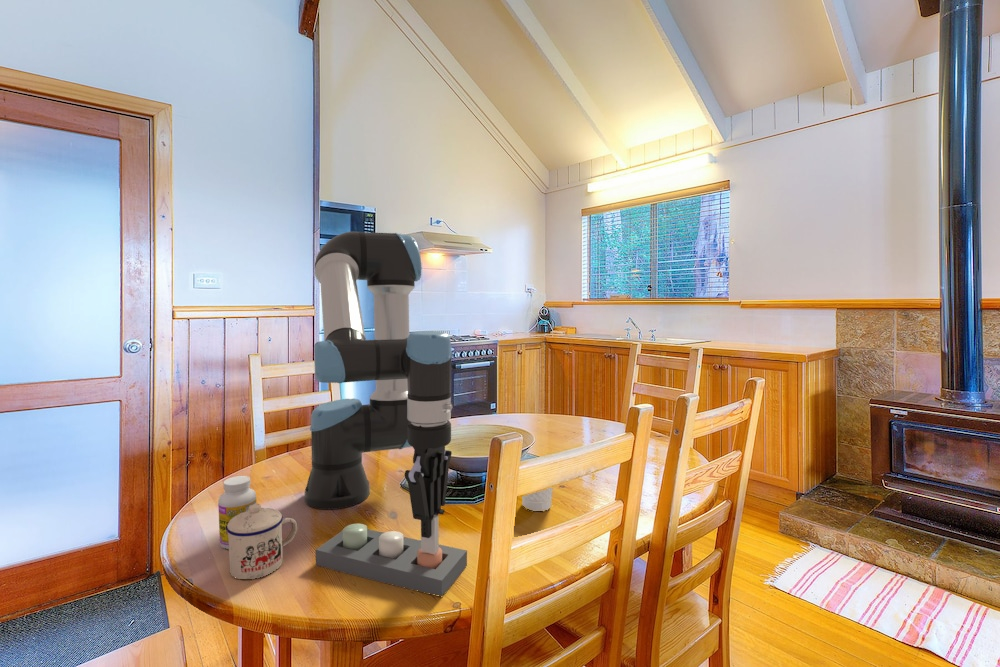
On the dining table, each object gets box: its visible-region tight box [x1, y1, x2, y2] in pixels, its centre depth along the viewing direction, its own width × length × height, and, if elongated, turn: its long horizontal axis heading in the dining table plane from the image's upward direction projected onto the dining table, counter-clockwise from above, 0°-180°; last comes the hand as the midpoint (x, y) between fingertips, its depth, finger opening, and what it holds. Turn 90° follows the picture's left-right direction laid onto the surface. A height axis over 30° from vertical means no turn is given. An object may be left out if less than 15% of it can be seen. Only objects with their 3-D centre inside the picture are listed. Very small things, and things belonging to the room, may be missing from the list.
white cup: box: [521, 487, 554, 512], centre depth 115 cm, size 8×8×10 cm
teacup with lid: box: [227, 503, 298, 580], centre depth 89 cm, size 12×9×12 cm
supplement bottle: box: [217, 475, 257, 550], centre depth 97 cm, size 7×7×13 cm
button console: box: [314, 528, 468, 597], centre depth 89 cm, size 26×10×3 cm, turn 70°
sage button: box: [342, 523, 368, 551], centre depth 92 cm, size 4×4×4 cm
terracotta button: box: [417, 547, 442, 569], centre depth 87 cm, size 4×4×4 cm
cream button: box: [379, 530, 404, 560], centre depth 89 cm, size 4×4×4 cm
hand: (429, 551), depth 86 cm, fingers closed
